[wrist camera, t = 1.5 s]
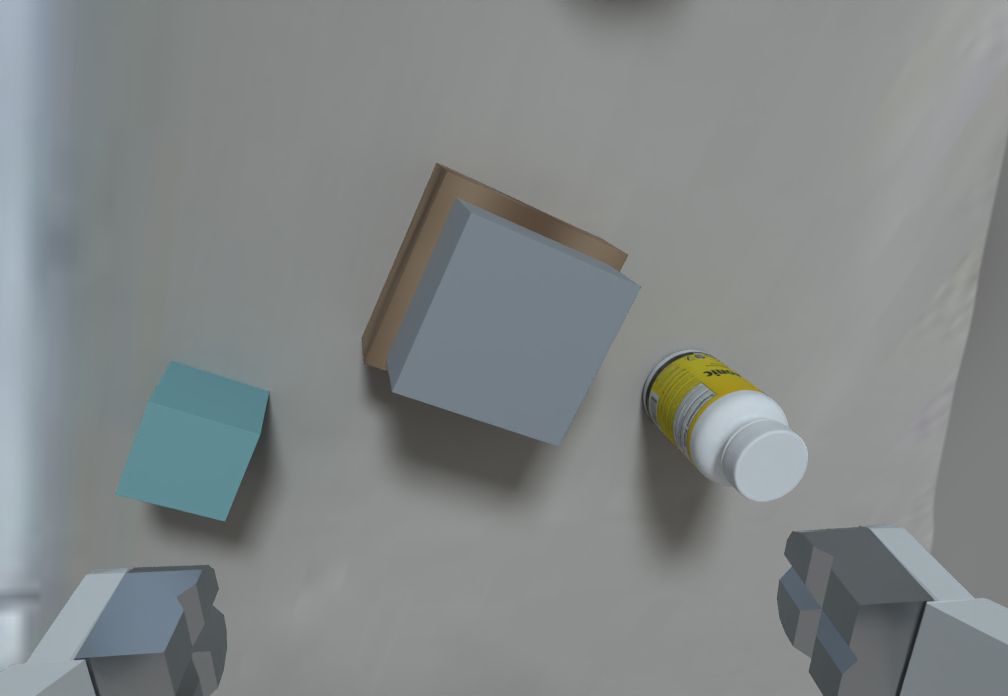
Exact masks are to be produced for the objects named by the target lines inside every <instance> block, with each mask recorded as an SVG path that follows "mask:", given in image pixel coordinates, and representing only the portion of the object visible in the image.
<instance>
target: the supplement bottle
mask: <svg viewBox="0 0 1008 696" xmlns="http://www.w3.org/2000/svg"><path fill="white" fill-rule="evenodd" d="M643 402H644V407H645V410H646V412H647V414H648V416H649V418H650V419H651V420H652V421H653V423H654V424H655V425H656V426H657V427H658V428H659V429H660V430H661V431H662V432H663V433H664V434H665V435H666V437H667V438H668V439H669V440H670V441H671V442H672V443H673V444H674V445H675V446H676V447H677V448H678V449H679V450H680V451H681V453H682V454H683V455H684V456H685V457H686V458H687V459H688V460H689V461H690V462H691V463H692V464H693V465H694V466H695V468H696V469H697V470H698V471H699V472H701V473H702V474H703V475H704V476H705V477H706V478H708V479H709V480H711V481H712V482H714V483H717V484H720V485H723V486H733V487H734V488H735V489H736V490H737V491H738V492H739V493H740V494H741V495H742V496H744V497H745V498H747V499H749V500H752V501H755V502H768V501H773V500H775V499H778V498H780V497H782V496H784V495H786V494H787V493H789V492H790V491H791V490H792V489H793V488H794V487H795V486H796V485H797V484H798V483H799V482H800V480H801V478H802V477H803V475H804V473H805V470H806V467H807V463H808V451H807V448H806V445H805V443H804V442H803V440H802V439H801V438H800V437H799V436H798V435H797V434H796V433H794V432H793V431H792V430H791V429H789V428H788V422H787V419H786V416H785V414H784V412H783V410H782V409H781V408H780V406H779V405H778V404H777V403H776V402H775V401H774V400H772V399H771V398H770V397H769V396H768V395H766V394H765V393H763V392H762V391H760V390H759V389H758V388H756V387H755V386H754V385H752V384H751V383H749V382H748V381H747V380H745V379H744V378H742V377H741V376H740V375H738V374H737V373H736V372H734V371H733V370H731V369H730V368H729V367H727V366H726V365H724V364H723V363H722V362H720V361H719V360H717V359H716V358H714V357H713V356H711V355H709V354H708V353H705V352H703V351H698V350H684V351H679V352H676V353H674V354H671V355H670V356H668V357H666V358H665V359H663V360H662V361H661V362H660V363H659V364H658V365H657V366H656V367H655V368H654V369H653V371H652V372H651V374H650V375H649V377H648V379H647V381H646V384H645V387H644V393H643Z"/></svg>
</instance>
